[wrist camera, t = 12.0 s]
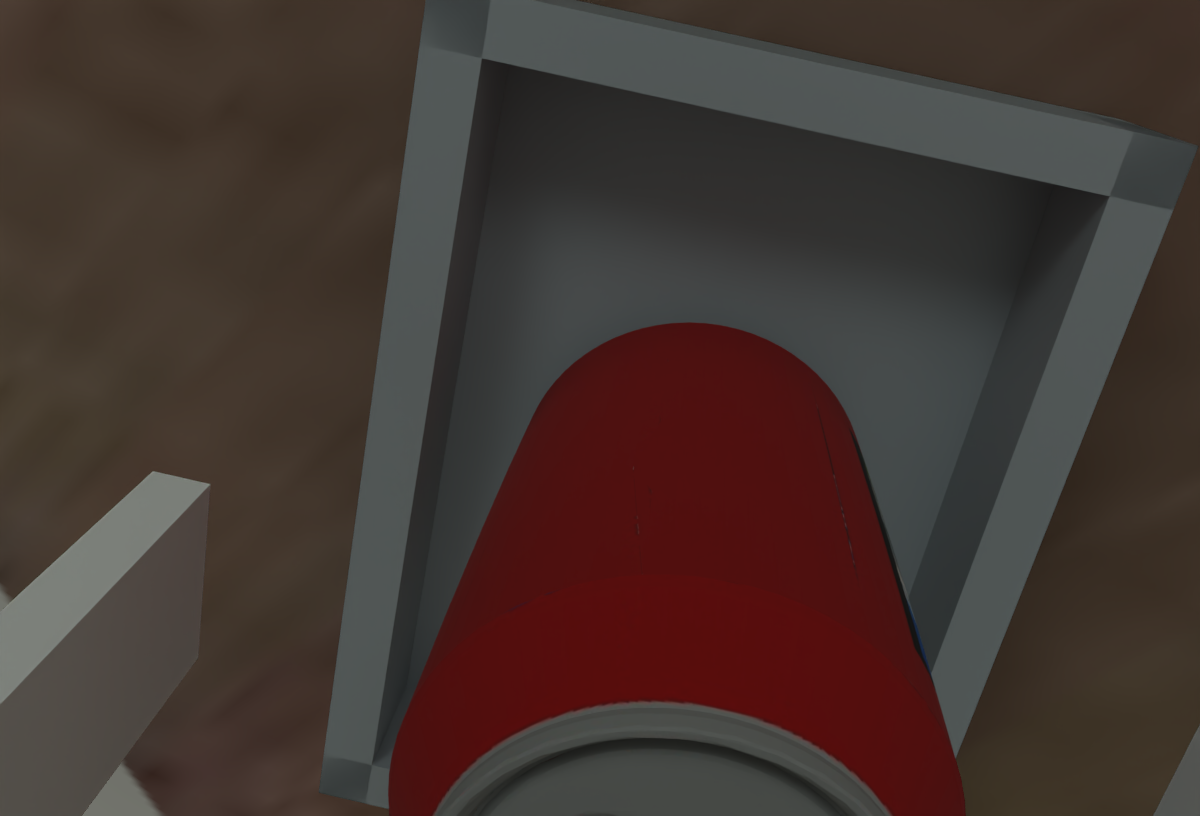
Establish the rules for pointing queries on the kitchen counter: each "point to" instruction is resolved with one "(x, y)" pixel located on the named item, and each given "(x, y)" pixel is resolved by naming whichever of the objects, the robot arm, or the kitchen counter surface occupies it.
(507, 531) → the beverage can
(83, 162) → the kitchen counter surface
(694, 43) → the tray
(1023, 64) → the kitchen counter surface
